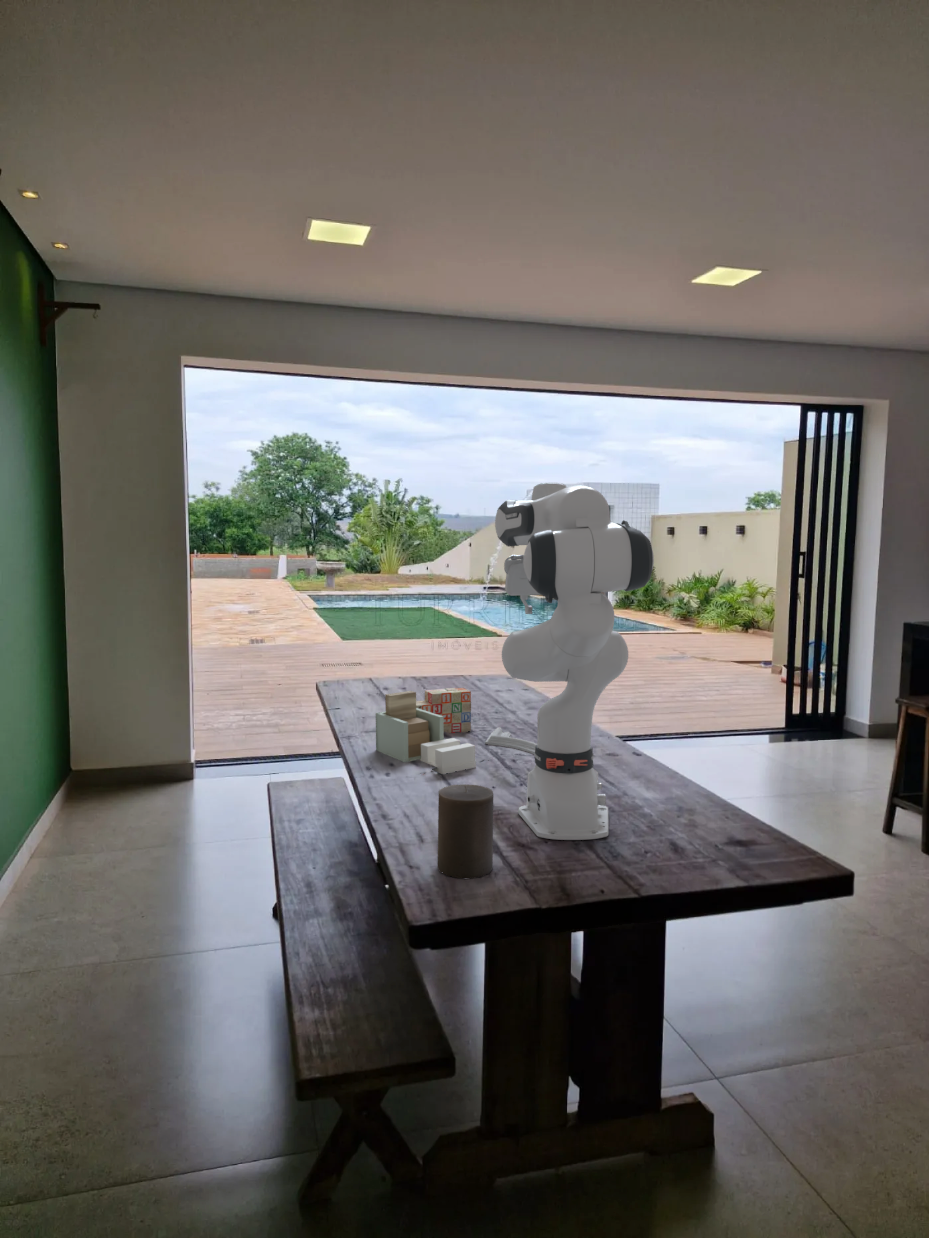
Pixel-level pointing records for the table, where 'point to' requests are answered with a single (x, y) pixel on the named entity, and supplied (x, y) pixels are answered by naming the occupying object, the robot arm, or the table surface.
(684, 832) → the table surface
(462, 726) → the stack of blocks
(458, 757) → the holder
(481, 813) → the pillar candle
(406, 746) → the rack
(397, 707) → the rectangular block
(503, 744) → the molding
